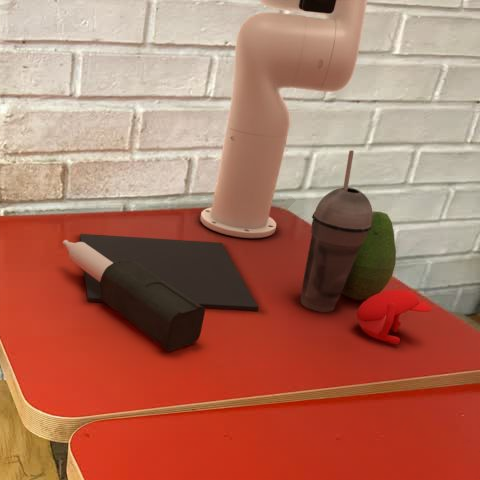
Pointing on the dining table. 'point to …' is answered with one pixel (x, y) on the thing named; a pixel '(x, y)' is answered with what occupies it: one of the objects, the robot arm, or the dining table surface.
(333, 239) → the beverage cup
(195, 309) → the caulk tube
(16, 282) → the dining table surface
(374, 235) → the fruit
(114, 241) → the mat
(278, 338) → the dining table surface
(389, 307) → the red animal figurine
